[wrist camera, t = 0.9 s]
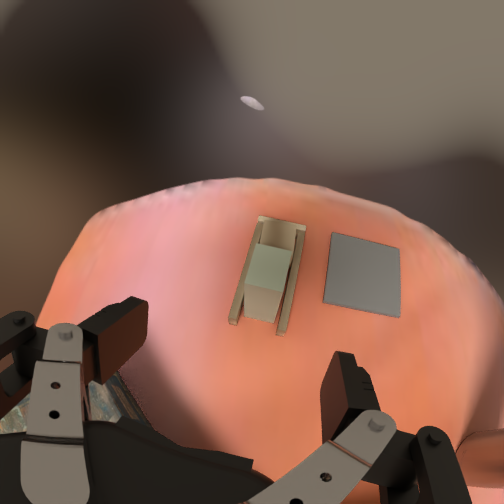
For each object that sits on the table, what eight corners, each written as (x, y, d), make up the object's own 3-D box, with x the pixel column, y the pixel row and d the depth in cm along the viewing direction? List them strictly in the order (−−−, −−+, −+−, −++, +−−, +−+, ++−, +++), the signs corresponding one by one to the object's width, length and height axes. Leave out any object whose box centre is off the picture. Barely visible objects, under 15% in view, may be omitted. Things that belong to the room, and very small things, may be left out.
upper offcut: (293, 237, 41) (296, 225, 39) (289, 268, 38) (293, 256, 36) (262, 232, 41) (264, 219, 39) (256, 262, 39) (258, 250, 36)
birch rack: (303, 235, 45) (306, 225, 43) (283, 336, 36) (285, 331, 34) (258, 225, 46) (259, 215, 44) (229, 323, 37) (228, 317, 35)
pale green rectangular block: (281, 290, 40) (291, 251, 31) (273, 323, 37) (283, 292, 29) (253, 283, 40) (256, 243, 32) (243, 316, 38) (244, 283, 29)
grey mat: (397, 250, 44) (399, 249, 43) (398, 317, 38) (400, 316, 37) (331, 234, 45) (332, 232, 45) (322, 302, 39) (323, 300, 38)
